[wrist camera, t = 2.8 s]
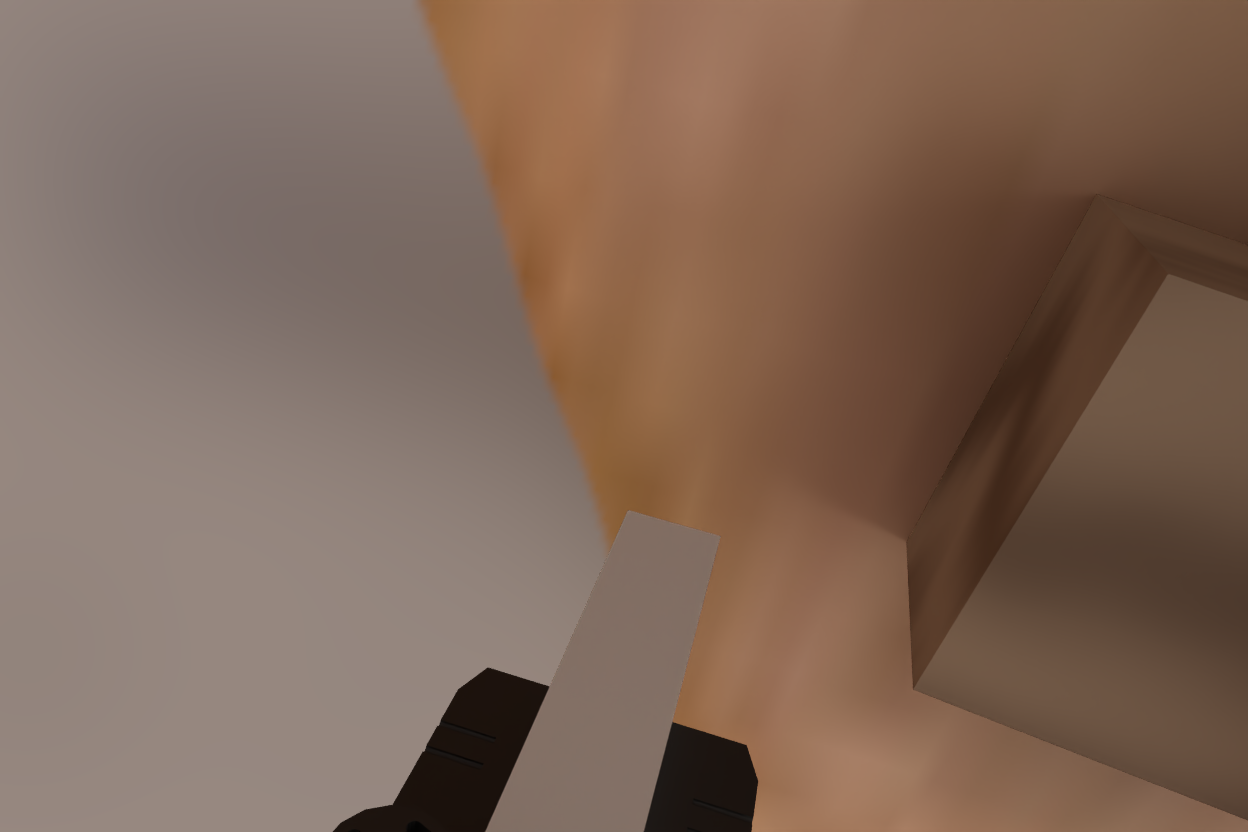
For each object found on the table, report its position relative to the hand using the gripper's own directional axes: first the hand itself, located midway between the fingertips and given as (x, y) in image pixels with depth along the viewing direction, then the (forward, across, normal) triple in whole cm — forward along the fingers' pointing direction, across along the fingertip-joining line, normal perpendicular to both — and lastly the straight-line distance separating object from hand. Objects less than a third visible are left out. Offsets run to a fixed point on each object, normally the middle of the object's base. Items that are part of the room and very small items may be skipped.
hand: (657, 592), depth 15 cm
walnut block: (+11, +10, 0) cm, 15 cm away
